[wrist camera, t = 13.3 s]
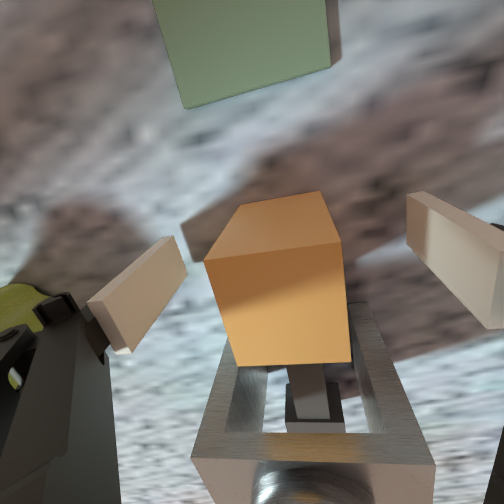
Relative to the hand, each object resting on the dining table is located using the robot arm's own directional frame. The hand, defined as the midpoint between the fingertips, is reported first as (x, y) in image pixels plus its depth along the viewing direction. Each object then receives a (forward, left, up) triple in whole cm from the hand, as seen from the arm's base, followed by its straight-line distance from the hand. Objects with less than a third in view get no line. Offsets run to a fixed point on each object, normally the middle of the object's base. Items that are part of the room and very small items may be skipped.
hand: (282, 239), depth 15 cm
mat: (0, +11, -1) cm, 11 cm away
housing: (0, -9, -1) cm, 9 cm away
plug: (0, -6, -1) cm, 6 cm away
